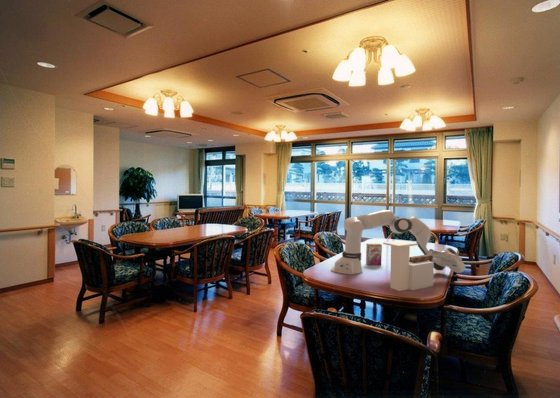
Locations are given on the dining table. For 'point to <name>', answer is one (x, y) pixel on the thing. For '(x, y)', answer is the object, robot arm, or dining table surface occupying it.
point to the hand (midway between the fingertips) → (436, 251)
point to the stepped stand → (408, 268)
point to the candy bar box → (373, 254)
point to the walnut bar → (421, 258)
